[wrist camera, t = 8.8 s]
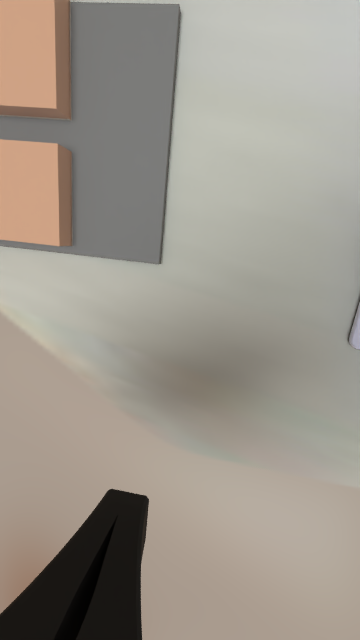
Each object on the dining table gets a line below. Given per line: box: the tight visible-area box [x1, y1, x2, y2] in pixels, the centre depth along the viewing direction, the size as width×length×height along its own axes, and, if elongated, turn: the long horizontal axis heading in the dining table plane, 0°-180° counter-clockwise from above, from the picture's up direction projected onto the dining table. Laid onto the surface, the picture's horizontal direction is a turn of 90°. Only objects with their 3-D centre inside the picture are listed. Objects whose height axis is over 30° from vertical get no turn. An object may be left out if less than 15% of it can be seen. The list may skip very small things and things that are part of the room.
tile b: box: [0, 139, 73, 246], centre depth 16 cm, size 2×5×6 cm
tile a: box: [0, 0, 71, 121], centre depth 14 cm, size 2×5×6 cm
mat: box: [0, 2, 181, 264], centre depth 16 cm, size 12×12×1 cm
